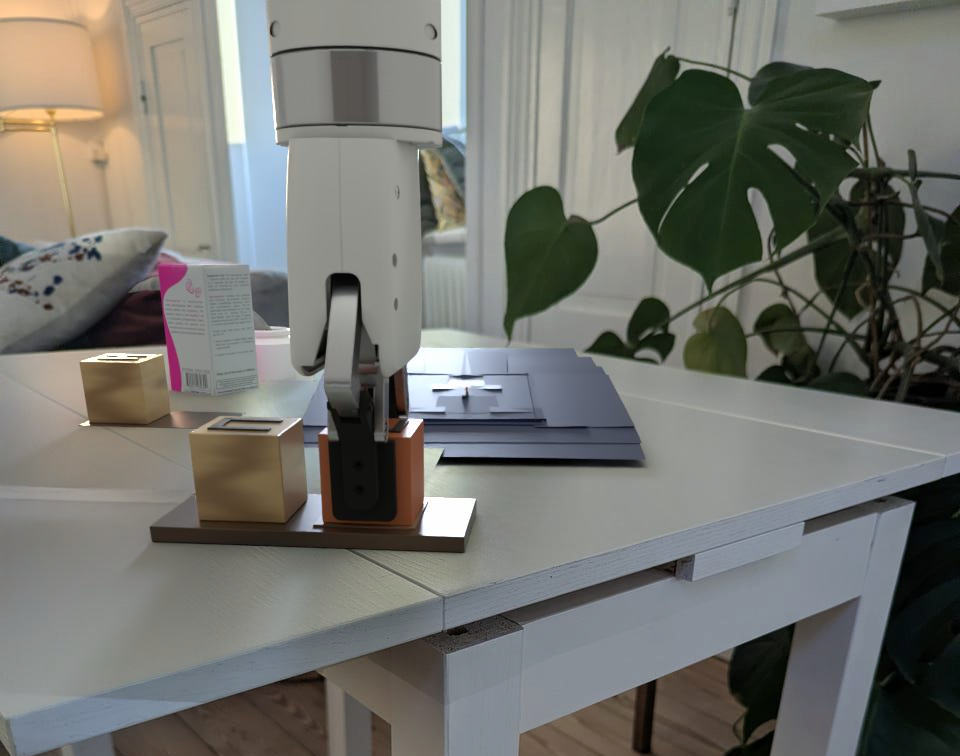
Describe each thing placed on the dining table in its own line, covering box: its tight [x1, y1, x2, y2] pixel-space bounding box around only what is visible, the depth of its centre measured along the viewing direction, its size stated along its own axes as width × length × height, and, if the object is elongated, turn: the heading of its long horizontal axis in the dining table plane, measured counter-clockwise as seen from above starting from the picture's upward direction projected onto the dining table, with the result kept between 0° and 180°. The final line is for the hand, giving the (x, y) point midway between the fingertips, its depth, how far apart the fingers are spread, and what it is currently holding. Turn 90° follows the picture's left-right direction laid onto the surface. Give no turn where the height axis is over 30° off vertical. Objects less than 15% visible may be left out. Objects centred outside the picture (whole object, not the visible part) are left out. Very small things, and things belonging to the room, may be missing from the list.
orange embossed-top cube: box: [318, 418, 425, 526], centre depth 49 cm, size 5×5×5 cm
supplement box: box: [157, 262, 260, 397], centre depth 84 cm, size 6×6×12 cm
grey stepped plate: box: [302, 347, 647, 461], centre depth 76 cm, size 24×30×4 cm
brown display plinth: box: [149, 416, 478, 553], centre depth 49 cm, size 16×7×5 cm, turn 85°
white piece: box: [128, 275, 317, 382], centre depth 92 cm, size 9×18×10 cm, turn 90°
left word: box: [78, 353, 246, 430], centre depth 72 cm, size 11×6×5 cm, turn 85°
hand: (374, 501), depth 49 cm, fingers closed on orange embossed-top cube, 4 cm apart
